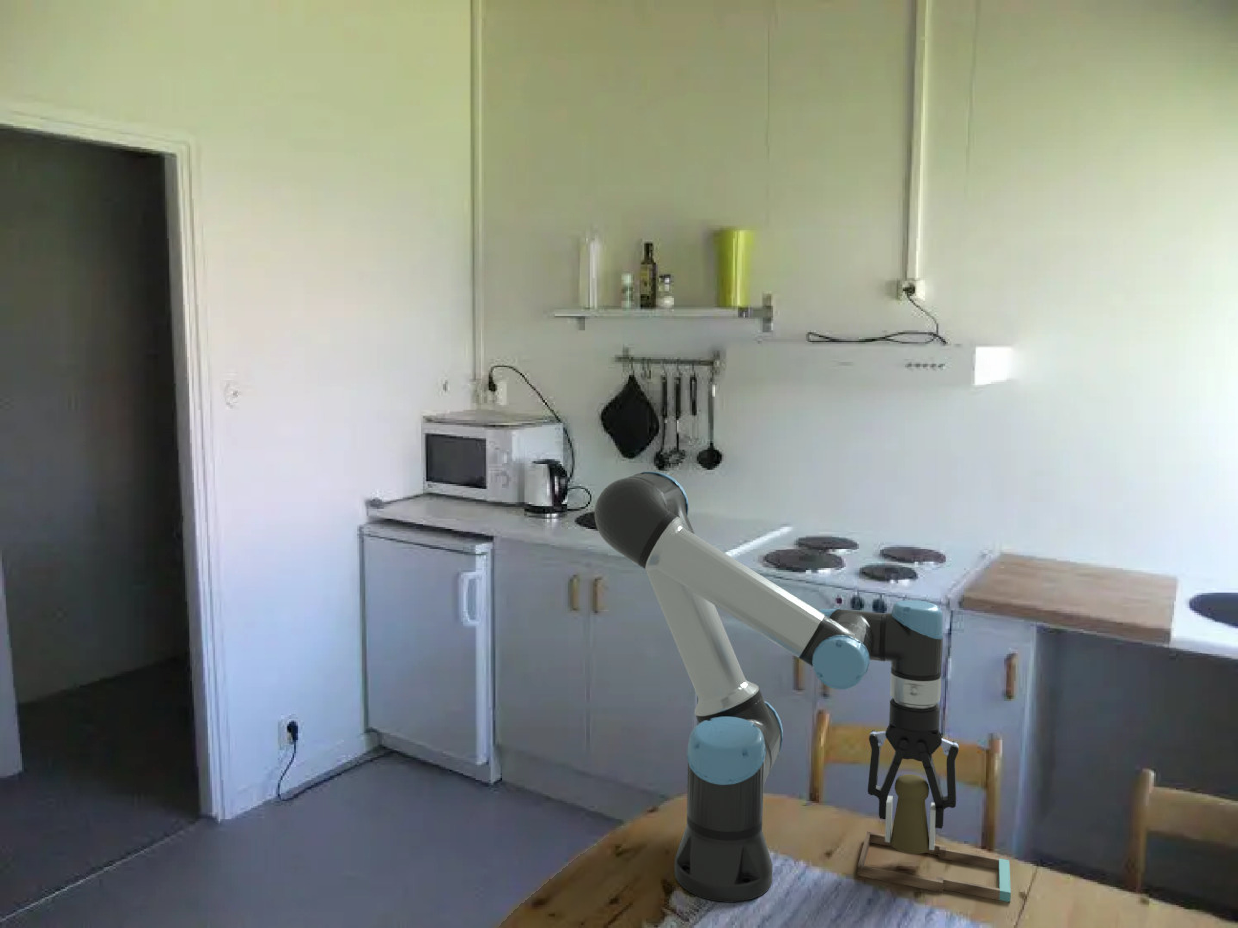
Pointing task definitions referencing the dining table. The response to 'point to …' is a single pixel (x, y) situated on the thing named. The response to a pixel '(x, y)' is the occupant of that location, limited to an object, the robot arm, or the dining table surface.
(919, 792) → the cork
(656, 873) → the dining table surface
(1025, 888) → the dining table surface
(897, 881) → the keyhole track
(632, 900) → the dining table surface
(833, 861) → the dining table surface
